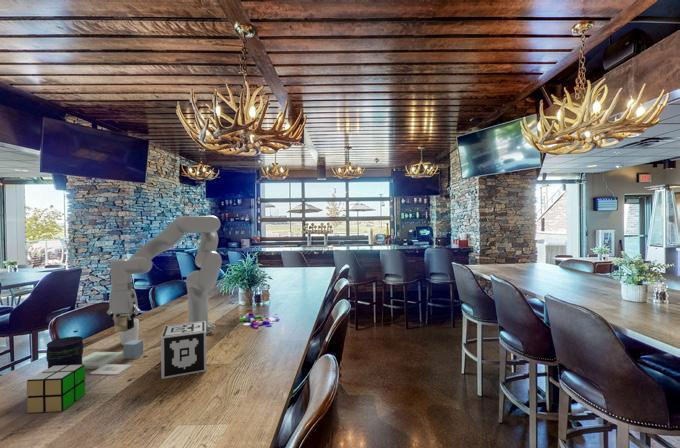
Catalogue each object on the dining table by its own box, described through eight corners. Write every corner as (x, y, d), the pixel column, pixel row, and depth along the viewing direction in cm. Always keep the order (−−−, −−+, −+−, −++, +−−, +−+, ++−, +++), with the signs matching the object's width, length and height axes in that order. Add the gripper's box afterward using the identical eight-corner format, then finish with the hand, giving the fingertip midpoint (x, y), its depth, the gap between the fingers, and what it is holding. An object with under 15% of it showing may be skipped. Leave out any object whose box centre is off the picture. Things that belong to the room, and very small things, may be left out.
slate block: (143, 354, 139) (142, 340, 139) (135, 358, 134) (134, 344, 134) (131, 353, 139) (131, 339, 139) (123, 358, 134) (123, 344, 134)
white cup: (129, 346, 148) (129, 324, 148) (114, 344, 149) (114, 323, 149) (143, 339, 155) (142, 319, 155) (129, 338, 157) (128, 318, 157)
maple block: (134, 327, 144) (133, 314, 144) (126, 331, 139) (125, 317, 139) (123, 327, 144) (122, 314, 144) (115, 331, 140) (114, 318, 139)
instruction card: (132, 365, 127) (132, 364, 127) (117, 375, 119) (117, 373, 119) (106, 364, 128) (106, 363, 128) (89, 374, 120) (89, 373, 120)
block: (165, 362, 130) (165, 325, 130) (205, 356, 136) (205, 320, 136) (161, 379, 116) (160, 337, 116) (206, 371, 122) (206, 331, 122)
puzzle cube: (53, 396, 105) (53, 365, 105) (86, 394, 106) (85, 363, 106) (26, 414, 95) (25, 380, 95) (62, 412, 96) (62, 378, 96)
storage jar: (42, 393, 106) (41, 339, 106) (51, 380, 115) (51, 330, 115) (80, 386, 111) (79, 334, 111) (86, 374, 120) (86, 326, 120)
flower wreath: (284, 325, 177) (284, 317, 177) (245, 331, 168) (245, 322, 168) (272, 314, 200) (272, 307, 200) (238, 318, 190) (237, 311, 190)
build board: (123, 355, 137) (123, 352, 137) (99, 368, 124) (99, 365, 124) (94, 354, 138) (94, 351, 138) (67, 368, 125) (67, 364, 125)
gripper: (146, 284, 144) (148, 324, 145) (110, 285, 145) (112, 325, 146) (134, 288, 137) (137, 331, 138) (96, 289, 138) (99, 331, 139)
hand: (124, 327), depth 142 cm, fingers closed on maple block, 5 cm apart
